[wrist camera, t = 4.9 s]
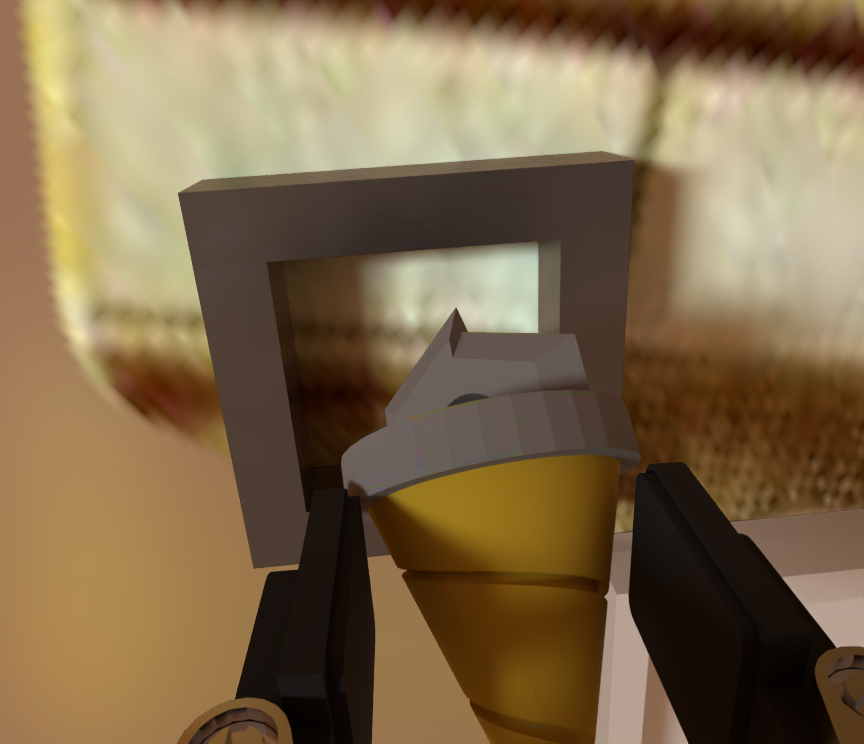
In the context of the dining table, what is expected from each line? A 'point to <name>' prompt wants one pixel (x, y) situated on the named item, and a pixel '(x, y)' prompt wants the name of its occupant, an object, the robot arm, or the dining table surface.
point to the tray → (795, 562)
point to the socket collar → (381, 233)
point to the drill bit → (504, 520)
